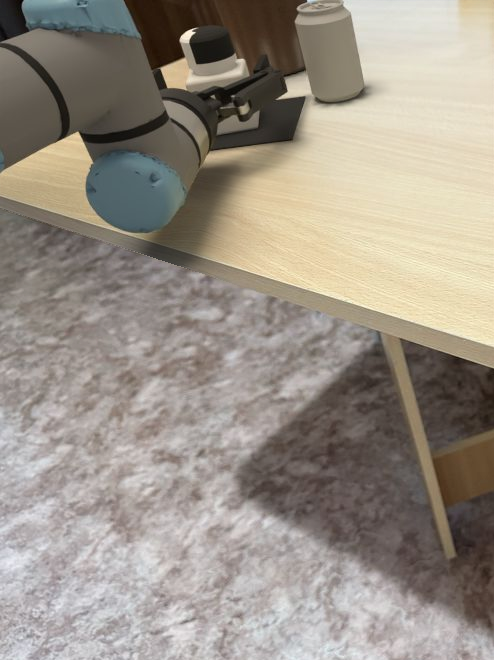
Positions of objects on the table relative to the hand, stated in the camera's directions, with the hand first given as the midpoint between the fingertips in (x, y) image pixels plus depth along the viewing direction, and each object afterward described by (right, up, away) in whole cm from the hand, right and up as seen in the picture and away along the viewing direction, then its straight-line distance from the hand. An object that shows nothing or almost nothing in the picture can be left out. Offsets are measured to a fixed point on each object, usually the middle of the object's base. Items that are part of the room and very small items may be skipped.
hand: (214, 72), depth 88 cm
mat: (+1, -5, +4) cm, 7 cm away
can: (+14, +1, +10) cm, 17 cm away
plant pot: (+2, +10, +24) cm, 26 cm away
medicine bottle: (+1, -5, +4) cm, 7 cm away
